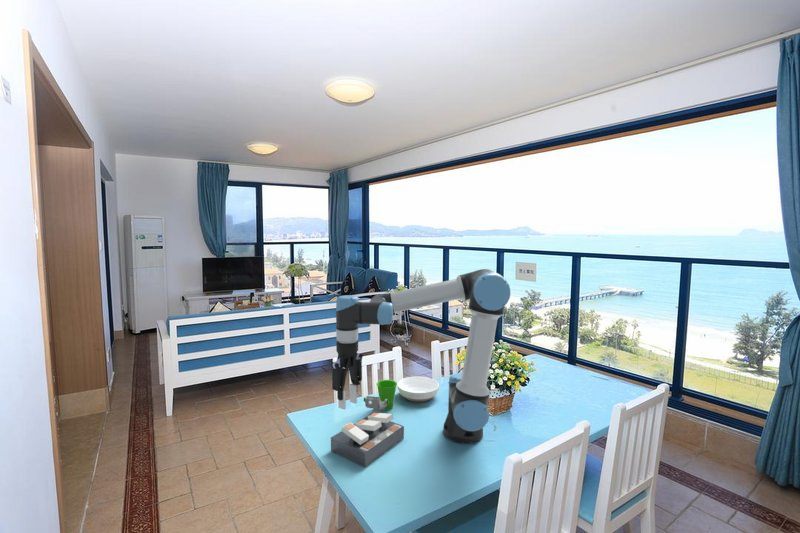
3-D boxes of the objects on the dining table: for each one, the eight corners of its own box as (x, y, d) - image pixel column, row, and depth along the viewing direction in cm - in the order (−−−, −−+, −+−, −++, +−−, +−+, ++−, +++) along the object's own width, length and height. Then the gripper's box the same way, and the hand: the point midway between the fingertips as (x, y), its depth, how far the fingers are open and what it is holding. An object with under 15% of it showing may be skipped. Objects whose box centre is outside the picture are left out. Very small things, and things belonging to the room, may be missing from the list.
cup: (373, 410, 169) (373, 385, 168) (381, 401, 177) (381, 378, 176) (392, 414, 166) (392, 389, 165) (400, 405, 174) (400, 381, 173)
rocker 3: (393, 418, 146) (392, 413, 146) (386, 423, 143) (385, 417, 143) (375, 417, 151) (374, 412, 151) (368, 421, 148) (367, 416, 148)
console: (403, 438, 146) (403, 423, 146) (365, 467, 129) (365, 449, 128) (371, 425, 156) (371, 411, 155) (330, 451, 138) (330, 434, 137)
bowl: (393, 404, 175) (393, 391, 174) (400, 386, 194) (401, 375, 194) (437, 407, 172) (437, 394, 171) (440, 389, 191) (440, 377, 190)
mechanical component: (387, 425, 156) (387, 401, 155) (363, 422, 158) (362, 398, 158) (389, 421, 159) (389, 397, 158) (365, 418, 161) (365, 395, 160)
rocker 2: (381, 426, 140) (380, 420, 140) (374, 430, 137) (373, 425, 137) (363, 424, 146) (362, 419, 146) (356, 428, 142) (355, 423, 142)
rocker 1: (368, 439, 135) (369, 434, 135) (360, 444, 132) (361, 439, 131) (349, 426, 140) (350, 421, 140) (341, 431, 137) (342, 426, 136)
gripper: (356, 333, 144) (357, 393, 146) (320, 344, 130) (321, 411, 132) (372, 336, 140) (372, 399, 142) (336, 348, 125) (337, 418, 127)
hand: (347, 405), depth 137 cm, fingers open, 5 cm apart
